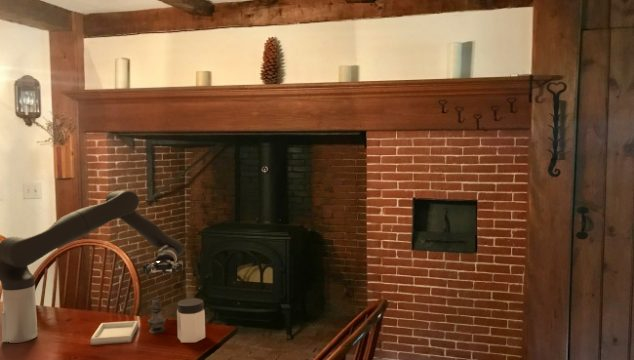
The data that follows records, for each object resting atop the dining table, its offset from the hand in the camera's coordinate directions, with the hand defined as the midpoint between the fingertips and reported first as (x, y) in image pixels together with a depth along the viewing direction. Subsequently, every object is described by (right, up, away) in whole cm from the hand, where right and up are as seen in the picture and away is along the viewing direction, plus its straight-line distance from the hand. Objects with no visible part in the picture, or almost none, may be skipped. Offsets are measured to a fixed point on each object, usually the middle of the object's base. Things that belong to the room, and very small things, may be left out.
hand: (160, 271), depth 188 cm
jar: (+15, -19, -18) cm, 30 cm away
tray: (-10, -18, -15) cm, 26 cm away
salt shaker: (+2, -18, -11) cm, 21 cm away
